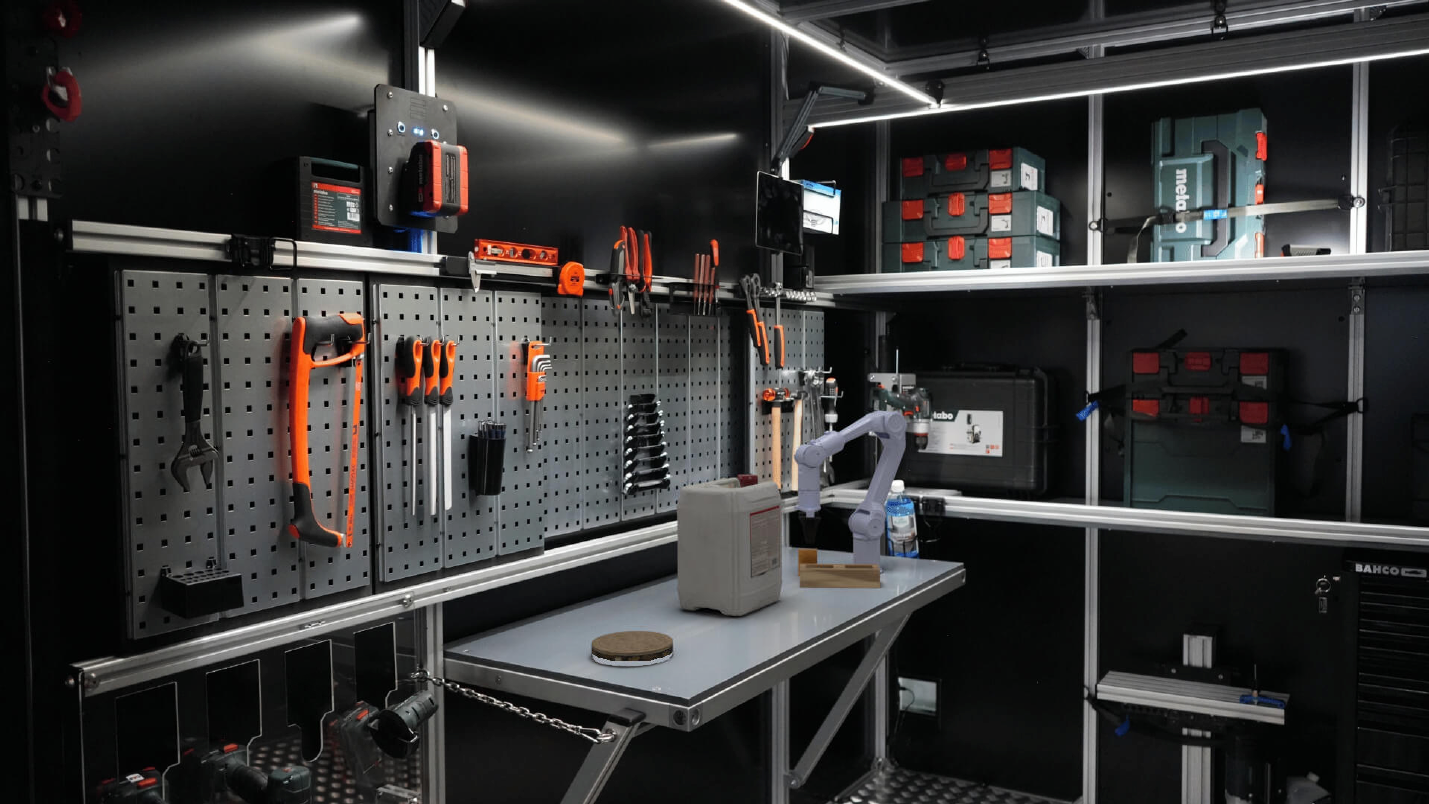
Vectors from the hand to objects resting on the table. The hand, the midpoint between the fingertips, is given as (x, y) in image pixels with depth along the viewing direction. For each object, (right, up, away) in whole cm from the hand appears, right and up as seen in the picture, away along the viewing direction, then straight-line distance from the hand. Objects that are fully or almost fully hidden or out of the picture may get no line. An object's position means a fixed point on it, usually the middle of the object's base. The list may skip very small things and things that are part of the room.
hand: (809, 540), depth 269 cm
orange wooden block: (0, -10, +1) cm, 10 cm away
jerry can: (-21, -11, -32) cm, 40 cm away
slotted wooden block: (+7, -10, -11) cm, 16 cm away
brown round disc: (-41, -13, -72) cm, 84 cm away
